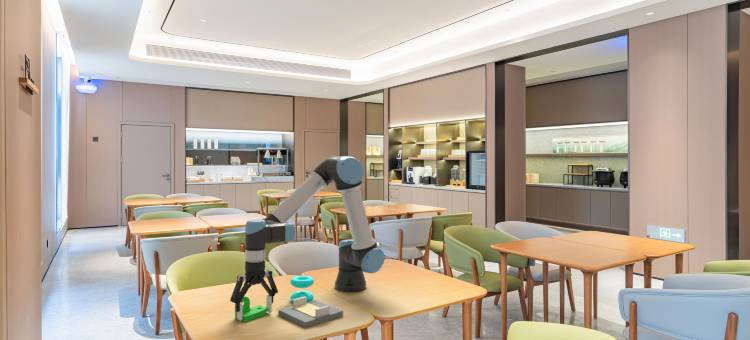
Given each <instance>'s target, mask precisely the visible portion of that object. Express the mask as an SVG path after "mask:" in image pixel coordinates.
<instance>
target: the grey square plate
mask: <svg viewBox="0 0 750 340" xmlns="http://www.w3.org/2000/svg"><path fill="white" fill-rule="evenodd" d="M277 311H278V313H277V314H278V315H279V316H280V317H282V318H285V319H286V320H288V321H291V322H293V323H294V324H297V325H299V326H301V327H303V328H305V329H307V328H308V327H309V328H310V327H312V326H315V325H319V324H321V323H325V322H328V321H332V320H335V319H338V318H340V317H343V316H344V310H342V309H339V308H337V307H334V306H332V305H329V304H326V303H323V302H321V301H319V300H316V299H313V300H312V301H309V302H306V297H301V298H297V299H293V302H292V305H291V306H287V307H284V308H280V309H278V310H277ZM337 317H338V318H337ZM334 318H335V319H334Z"/></svg>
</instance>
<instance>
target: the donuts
mask: <svg viewBox="0 0 750 340" xmlns="http://www.w3.org/2000/svg"><path fill="white" fill-rule="evenodd" d="M314 282H315V279H314V278H313V277H312V276H309V275H298V276H297V275H296V276H294V277H291V278H290V285H292V287H294V288H298V289H305V288H310V287H311V286H313V285H314ZM301 297H306V302H309V301H313V300H314V298H315V297H314V294H313V293H312V292H311V291H308V290H298V291H294V292H293V293H292V294H291V295H290V301H291V302H292V303H293V299H297V298H301Z"/></svg>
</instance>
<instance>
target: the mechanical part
mask: <svg viewBox="0 0 750 340" xmlns="http://www.w3.org/2000/svg"><path fill="white" fill-rule="evenodd" d="M241 303H242V321H241V322H244V323H247V322H249V321H253V320H254V319H257V318H260V317H263V316H266V315H267V311H266V306H264V305H260V304H259V305H256V306H253V307H251V300H250V298H249V297H247V296H246V295H245V296H244V297H243V299H242V301H241ZM234 319H236V320H238V319H237V312H236V311H235V310H234Z"/></svg>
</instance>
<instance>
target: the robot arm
mask: <svg viewBox="0 0 750 340" xmlns="http://www.w3.org/2000/svg"><path fill="white" fill-rule="evenodd" d="M364 169H365V168H364V166H363V164H362V162H361V161H360V160H359V159H358V158H356V157H354V156H349V155H341V156H337V155H335V156H330V157H327V158H326V159H324V160H323V161H322V162H320V163H319V164H318V165H317V166H316V167H315V168H314V169H313V170H312V171H311V172H310V176H308V178H306V179H305V181H303V182H302V183H301V184H300V185H299V186H298V187H297V188H296V189H295V190H294V191H293V192H292V193H290V195H288V197H286V199H284V200H283V201H282V202H281V203H280V204H279V205H278V206H276V208H275V209H274V210H273V211H271V213H269V214H268V215H267V216H266V217H264V218H260V219H249V220H247V221H246V223H245V229H244V231H245V232H244V238H245V243H244V245H245V246H244V247H245V251H244V252H245V254H244V259H245V261H244V271H245V273H244V275H240V274H239V275H237V277H236V283H235V286H234V288H233V292H232V293H231V297H230V298H229V301H230V302H231V303H233V304H234V312H235V311H236V312H237V319H236V320H238V321H240V322H243V321H242V306H243V303H241V301H242V299H243V297H244V296H245V297H246V294H247V292H248V291H249V289H250V288H251V287H252V286H255V285H261V286H262V288H263V289H264V290H265V291H266V293H267V294H266V301H265V302H266V303H265V304H266V306H265V307H266V313H269V314H272V312H273V311H272V310H273V309H272V307H273V306H272V304H273V303H274V297H275V296H276V294H278V293H279V290H278V288H277V285H276V282H275V279H274V277H273V271H272V270H270V269H266V260H265V259H266V244H267V245H268V244H277V243H278V244H279V243H288V242H293V241H294V239H295V237H296V228H295V225H294V224H293V223H292V222H288V221H289V220H290V219H292V217H293V216H295V214H297V213H298V212H299V211H300V210H301V209H302V208H303V207H304V206H305V205H307V203H309V201H310V200H311V199H312V198H313V197H315V195H316V194H317V193H319V192H320V190H322V189H326V188H327V187H328V186H329V185H330V184H332V183H334V184H335V188H336V189H335V190H336V191H338V192H339V193H340V195H341V199H342V203H343V205H344V210H345V211H344V212H345V215H346V218H347V222H348V226H349V230H350V233H351V238H350V239H349V238H348V239H342V240H340V241H339V244H338V273H337V276H336V279H335V282H334V288H335V289H336V290H338V291H340V292H349V293H350V292H359V291H360V292H361V291H363V290H365V289H367V281H366V276H365V274H364V273H367V274H375V273H377V272H379V271H380V270H381V269H382V267H383V265H384V264H385V261H386V260H385V259H386V258H385V257H386V256H385V252H384V251H383V250H382V249H381V248H380V247H378V243H377V240H376V239H375V238H373V237H372V233H371V228H370V224H369V220H368V216H367V213H366V212H367V211H366V208H365V204H364V200H363V196H362V195H363V194H362V192H361V186H363V181H362V180H363V178H364V177H363V176H364V174H365V170H364ZM265 277H266V279H267V281H266V280H265ZM267 282H268V283H269V284H268V283H267Z"/></svg>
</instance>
